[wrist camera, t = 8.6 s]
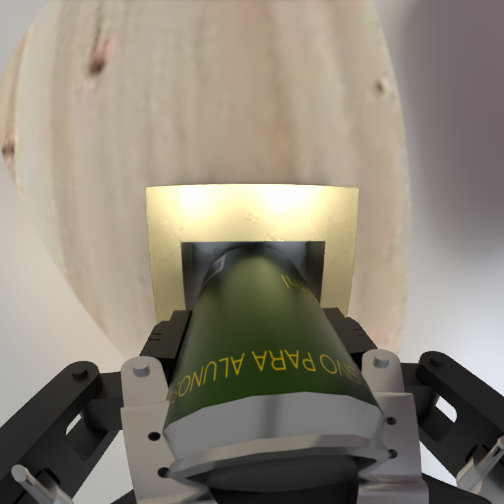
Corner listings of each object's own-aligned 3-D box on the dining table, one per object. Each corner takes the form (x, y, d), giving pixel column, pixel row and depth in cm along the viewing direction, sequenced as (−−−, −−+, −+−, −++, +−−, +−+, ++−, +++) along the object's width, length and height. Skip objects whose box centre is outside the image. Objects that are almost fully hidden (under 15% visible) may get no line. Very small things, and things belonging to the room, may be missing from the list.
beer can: (189, 311, 16) (127, 512, 4) (227, 225, 14) (185, 396, 3) (273, 344, 16) (313, 537, 5) (317, 266, 15) (453, 436, 4)
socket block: (166, 185, 16) (145, 187, 12) (332, 185, 16) (358, 188, 13) (181, 358, 19) (170, 394, 15) (318, 355, 19) (333, 389, 16)
